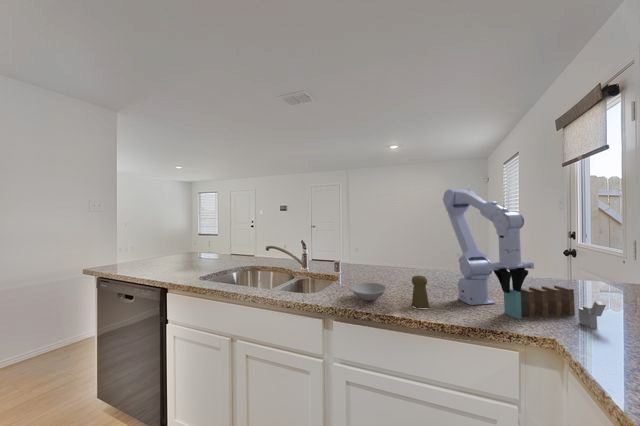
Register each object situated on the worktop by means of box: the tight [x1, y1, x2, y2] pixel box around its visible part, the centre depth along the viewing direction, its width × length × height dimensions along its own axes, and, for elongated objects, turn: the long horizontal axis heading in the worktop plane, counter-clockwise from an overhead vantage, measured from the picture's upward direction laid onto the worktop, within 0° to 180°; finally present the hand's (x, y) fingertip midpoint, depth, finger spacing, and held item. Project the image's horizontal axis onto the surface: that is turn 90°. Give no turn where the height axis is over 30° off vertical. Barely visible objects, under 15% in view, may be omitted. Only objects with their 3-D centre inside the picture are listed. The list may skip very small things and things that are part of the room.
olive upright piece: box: [411, 275, 430, 309], centre depth 98 cm, size 6×6×11 cm
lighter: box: [578, 300, 607, 329], centre depth 76 cm, size 7×2×8 cm, turn 172°
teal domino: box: [503, 288, 523, 319], centre depth 87 cm, size 2×5×8 cm, turn 4°
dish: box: [350, 281, 388, 301], centre depth 108 cm, size 18×14×5 cm
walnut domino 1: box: [520, 287, 536, 318], centre depth 87 cm, size 2×5×8 cm, turn 4°
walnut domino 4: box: [553, 284, 576, 316], centre depth 88 cm, size 2×5×8 cm, turn 4°
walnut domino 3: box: [541, 285, 563, 317], centre depth 88 cm, size 2×5×8 cm, turn 4°
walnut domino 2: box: [528, 286, 549, 318], centre depth 87 cm, size 2×5×8 cm, turn 4°
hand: (511, 292), depth 87 cm, fingers open, 3 cm apart
